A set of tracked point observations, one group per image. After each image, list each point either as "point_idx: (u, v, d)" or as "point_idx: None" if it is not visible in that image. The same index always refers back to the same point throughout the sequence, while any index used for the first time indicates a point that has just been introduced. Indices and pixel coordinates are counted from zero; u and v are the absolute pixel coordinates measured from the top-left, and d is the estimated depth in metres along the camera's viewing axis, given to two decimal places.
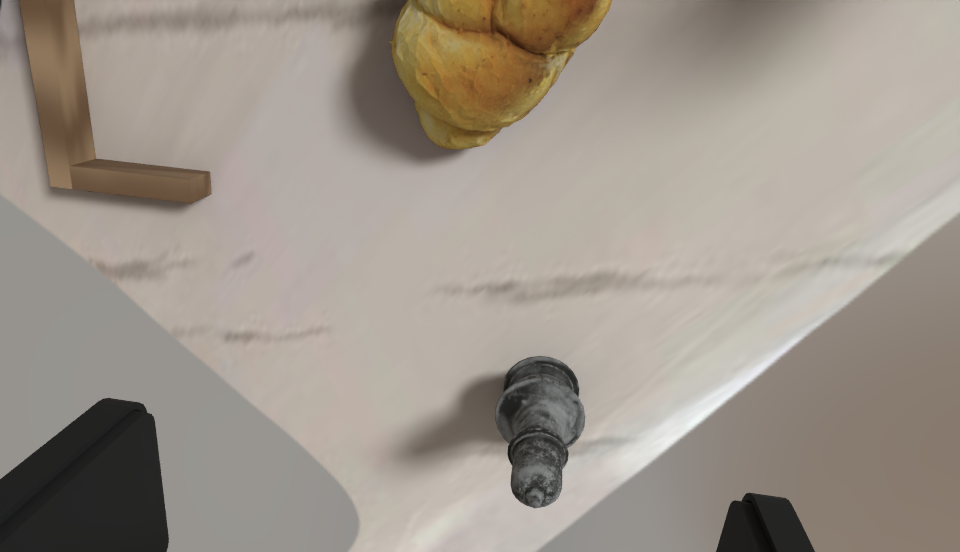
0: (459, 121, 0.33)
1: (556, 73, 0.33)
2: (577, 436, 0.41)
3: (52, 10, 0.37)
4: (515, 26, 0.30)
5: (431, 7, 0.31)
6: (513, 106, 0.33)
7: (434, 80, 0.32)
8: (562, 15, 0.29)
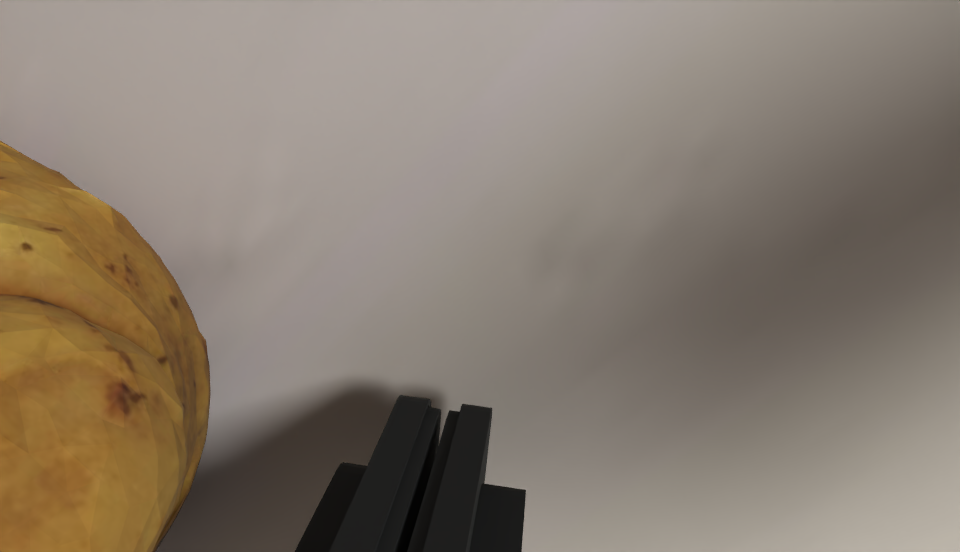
0: None
1: None
2: None
3: None
4: None
5: None
6: None
7: None
8: None
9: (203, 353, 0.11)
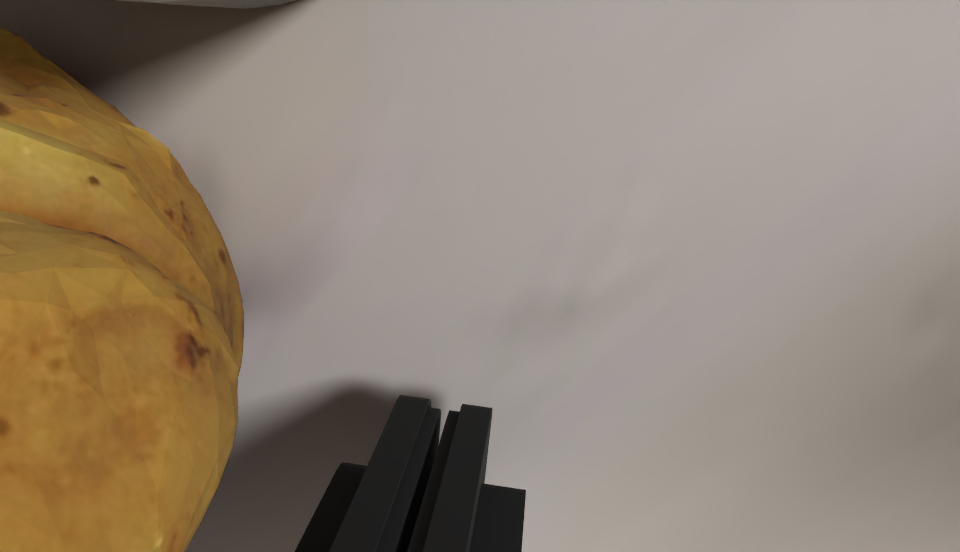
0: None
1: None
2: None
3: None
4: None
5: None
6: None
7: None
8: None
9: (242, 312, 0.11)
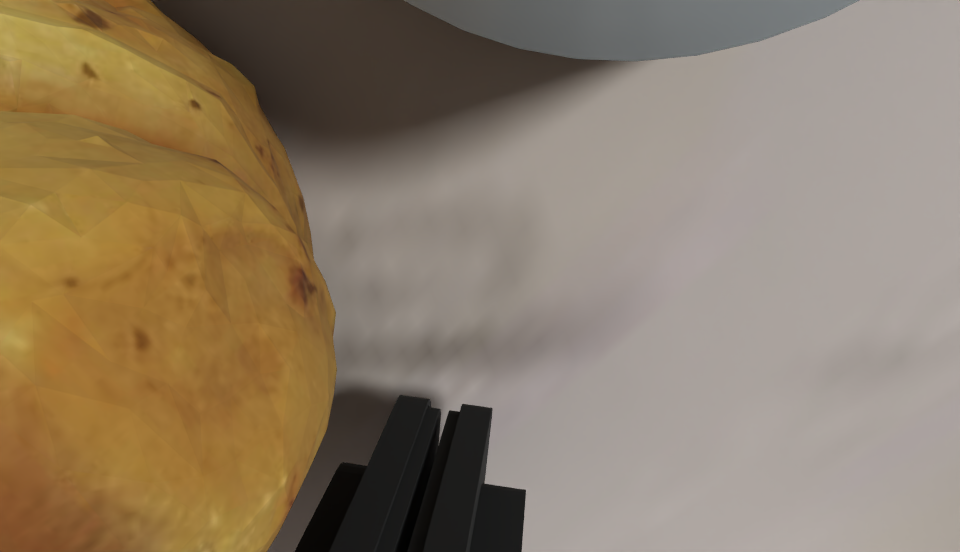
0: None
1: None
2: None
3: None
4: None
5: None
6: None
7: None
8: None
9: None
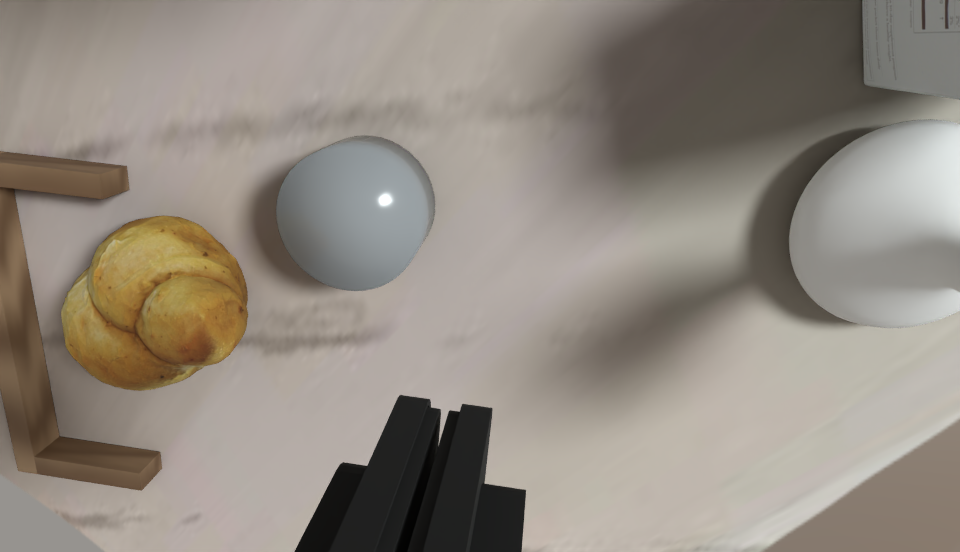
0: (101, 381, 0.38)
1: (198, 367, 0.39)
2: None
3: (17, 339, 0.43)
4: (148, 343, 0.36)
5: (91, 296, 0.36)
6: (149, 386, 0.38)
7: (78, 353, 0.37)
8: (178, 357, 0.35)
9: (247, 300, 0.41)
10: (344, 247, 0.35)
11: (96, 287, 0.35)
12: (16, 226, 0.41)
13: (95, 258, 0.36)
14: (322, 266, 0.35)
